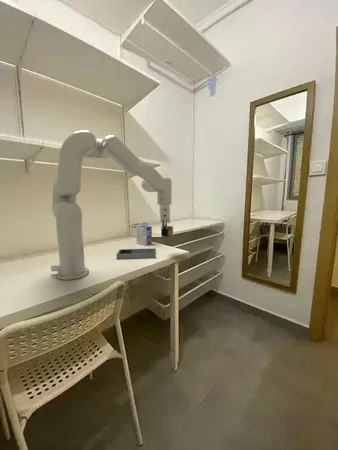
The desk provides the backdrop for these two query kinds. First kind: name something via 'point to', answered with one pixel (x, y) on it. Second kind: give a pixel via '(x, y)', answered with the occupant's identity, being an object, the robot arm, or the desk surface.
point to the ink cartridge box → (144, 234)
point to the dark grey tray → (136, 253)
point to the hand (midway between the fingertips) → (164, 234)
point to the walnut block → (169, 231)
